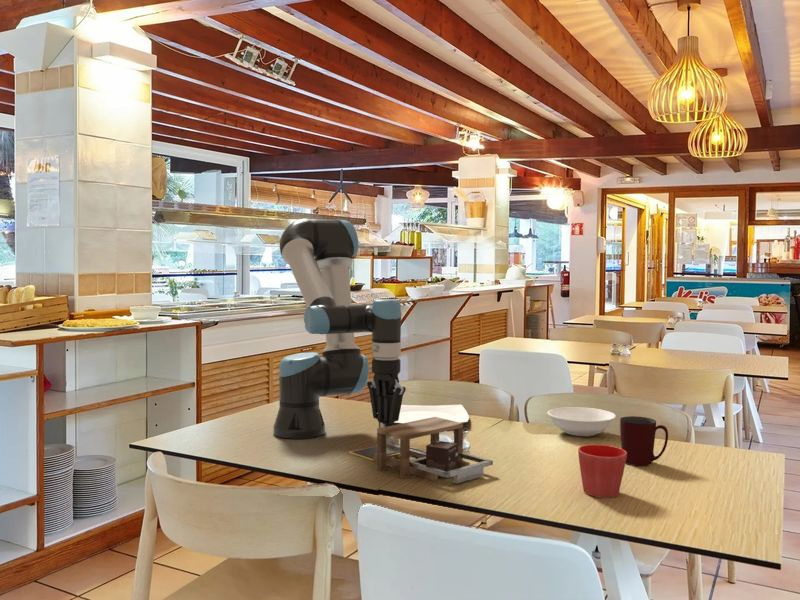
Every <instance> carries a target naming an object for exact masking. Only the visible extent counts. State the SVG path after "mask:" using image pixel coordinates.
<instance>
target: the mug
mask: <svg viewBox="0 0 800 600" xmlns="http://www.w3.org/2000/svg"><path fill="white" fill-rule="evenodd" d="M659 429H662V430H663V431H664V432H665V439H664V444H663V446H662V449H661V451H660V453H658V454H657V455H655V454H654V448H655V440H656V432H657V430H659ZM619 430H620V431H619V432H620V448H621V449H623V450H625V451H626V452H627V458H626V463H625V465H631V466H636V467H641V466H642V467H645V466H651V465H652V464H653V462H654V461H656V460H658V459H659V458H660V457H661V456H662V455H664V452H665V450H666V448H667V445H668V441H669V431H668V427H666V426H665V425H663V424H659V425H657V420H655V419H654V418H650V417H645V416H637V415H636V416H635V415H633V416H628V415H627V416H623V417H620V420H619Z"/></svg>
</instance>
